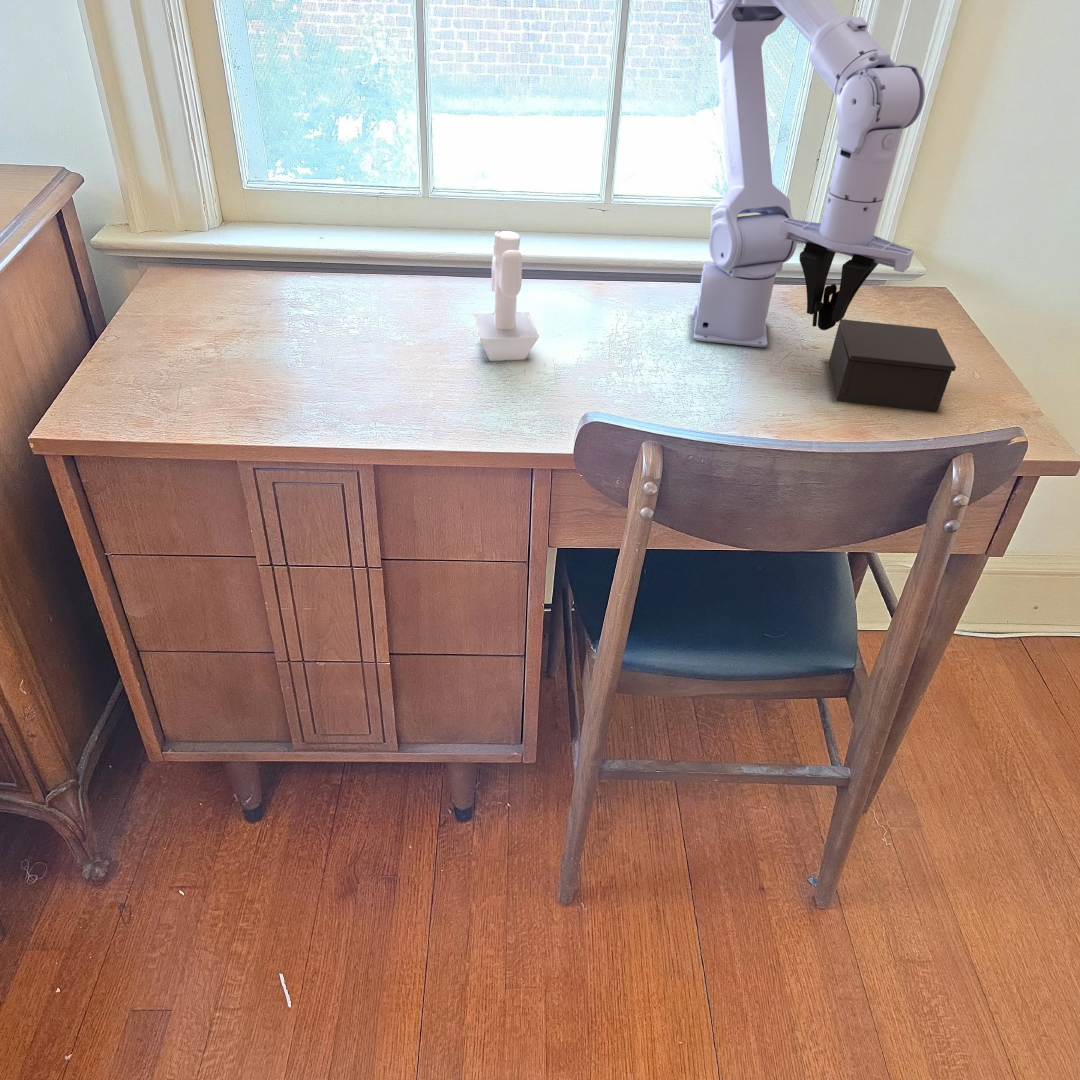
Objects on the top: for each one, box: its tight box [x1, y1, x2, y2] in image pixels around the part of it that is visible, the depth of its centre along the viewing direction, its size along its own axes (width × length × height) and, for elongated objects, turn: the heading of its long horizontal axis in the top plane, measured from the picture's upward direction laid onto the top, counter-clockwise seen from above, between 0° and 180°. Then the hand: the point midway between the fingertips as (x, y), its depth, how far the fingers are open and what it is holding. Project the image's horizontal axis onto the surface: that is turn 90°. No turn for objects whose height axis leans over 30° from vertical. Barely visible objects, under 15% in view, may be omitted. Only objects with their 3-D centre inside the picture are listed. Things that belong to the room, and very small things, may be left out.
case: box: [828, 323, 953, 413], centre depth 108 cm, size 10×12×5 cm
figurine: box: [472, 230, 540, 362], centre depth 108 cm, size 7×9×15 cm
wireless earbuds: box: [812, 283, 839, 331], centre depth 103 cm, size 7×2×5 cm, turn 142°
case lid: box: [838, 318, 957, 372], centre depth 106 cm, size 11×12×1 cm
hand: (825, 315), depth 103 cm, fingers closed on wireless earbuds, 2 cm apart
